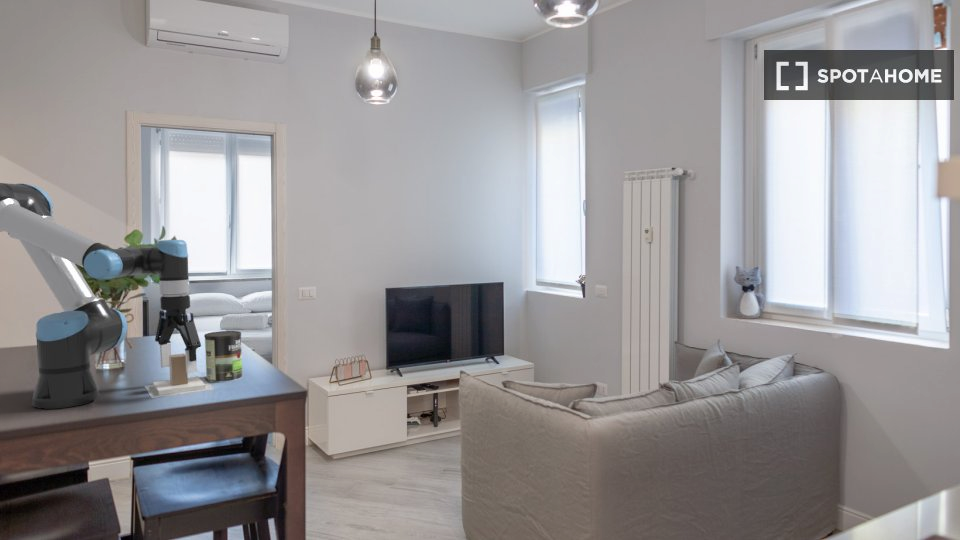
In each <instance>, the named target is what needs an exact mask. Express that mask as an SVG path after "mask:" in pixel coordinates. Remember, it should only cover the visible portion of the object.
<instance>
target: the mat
mask: <svg viewBox="0 0 960 540" xmlns="http://www.w3.org/2000/svg"><path fill="white" fill-rule="evenodd" d="M200 379H201V380H202V381H203V382H204V383H205V384H206V389H201V390H194V391H187V392H180V393H172V394H165V395H158V393H157V392H156V390H155V389H154V387H153V384H150V385H144V388H145V390H146V391H147V393H148V395H149V397H150V398H151V399H154V398H155V399H156V398H163V397H171V396H178V395H185V394H192V393H199V392H206V391H213V390H214V391H215V390H216V389H215V387H214V386H212V385H211V383H210V382H209V381H207V379H205V378H203V377H202V378H200Z"/></svg>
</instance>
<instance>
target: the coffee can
mask: <svg viewBox="0 0 960 540" xmlns="http://www.w3.org/2000/svg"><path fill="white" fill-rule="evenodd" d="M203 336H204V342H205V343H204V346H205V351H204V352H205V367H206V369H205V370H206V373H205V374H206V381H207V382H209V383H210V382H212V383H223V382H232V381H237V380H240V379H242V378H243V362H242V361H243V357H242V355H243V354H242V332H241V331H238V330H219V331H213V332H208V333H205V334H204V335H203Z"/></svg>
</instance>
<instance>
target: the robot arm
mask: <svg viewBox="0 0 960 540" xmlns="http://www.w3.org/2000/svg"><path fill="white" fill-rule="evenodd" d="M53 205H54V204H53V202H52V199H51V197H50V196H49V194H47V192H46V191H45V190H43V189H42V188H40V187H38V186H35V185H31V184H27V183H5V182H0V233H1V232H2V233H3V232H6V233H7V234H8V235H9V238H12V239H14V240H15V239H16V240H19V242H20V243H21V245H22V246H23V249H25V251H26V252H27V254H28V256H29V257H30V259H31V261H32V262H33V263H34V266H35V267H36V269H37V270H38V272H39V274H40V275H41V277H42V278H43V280H44V281H45V284H47V286H48V287H49V289H50V291H51V292H52V294H53V295H54V297H55V298H56V300H57V302H58V303H59V305H60V307H61V308H62V310H63V311H60V312H55V313H51V314H48V315H44V316H42V317H41V318H40V319H38V320H37V322H36V331H35V338H36V349H37V351H36V352H37V364H38V378H37V381H36V384H35V388H34V391H33V394H32V398H31V399H32V407H33V406H34V408H35V407H37V408H36V409H41V408H44V409H45V410H47V409H48V410H50V409H51V410H52V409H55V410H56V409H64V408H71V407H76V406H82V405H85V404H90V403H93V402H94V401H95V400H96V399H99V397H100V387H99V386H98V384H97V381H96V379H95V377H94V375H93V372H92V371H91V356H92V355H95V354H98V353H102V352H109V351H110V350H111V349H114V348H116V347H118V346H120V345H121V344H122V343H123V342H124V340H125V339H126V337H127V333H128V321H127V319H126V317H125V315H124V314H123V313H122V312H121V311H119V310H117V309H114V308H111V307H110V306H109V304H108V303H107V302H106V300H105V299H104V298H102V297H98V296H97V295H95V294H94V292H93V291H92V289H91V287H90V286H89V284H88V282H87V281H86V280H85V278H84V276H83V274H82V273H81V271H80V269H79V268H78V266H80V267H82V268H84V271H85V272H86V273H87V274H88V276H89V277H91V278H92V279H96V280H110V279H116V278H121V277H123V278H124V277H129V276H130V277H131V276H138V275H158V278H159V279H158V280H159V283H158V285H159V295H161V296H160V299H159V302H160V309H161V310H160V311H159V313H158V315H159V317H158V323H157V327H156V328H157V329H156V334H155V337H154V341H155V342H157V343H158V345H159V349H160V350H159V352H160V367H161V368H163V369H164V368H170V366H169V355H172V348H171V347H172V345H171V343H172V342H171V338H172V335H173V333H174V330H176V331H178V332H179V334H180V337H181V339H182V340H183V343H184V345H185V349H184V354H185V357H186V373H187V375H188V374H193V373H197V372H198V367H197V364H198V363H197V361H198V360H197V349H198V348H200V347H202V344H201V340H200V337H199V333H198V331H197V327H196V324H195V321H194V314H193V312H189V313H187V309H190V307H191V299H190V298H191V297H190V294H189V293H190V281H189V279H190V278H189V254H188V246H187V242H186V241H185V240H183V239H166V240H165V239H164V240H163V239H162V240H158V241H157V246H155V247H134V246H131V247H128V246H127V247H121V248H112V247H109V245H108V246H107V245H105V244H103V243H101V242H99V241H96V240H94V239H92V238H91V237H88V236H86V235H84V234H82V233H79V232H77V231H75V230H73V229H71V228H69V227H66V226H64V225H62V224H60V223H59V222H56V221H54V217H53V212H54V211H53V207H54V206H53ZM44 409H43V410H44Z"/></svg>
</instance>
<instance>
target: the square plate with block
mask: <svg viewBox="0 0 960 540" xmlns="http://www.w3.org/2000/svg"><path fill="white" fill-rule="evenodd" d="M201 379H202V378H200V377H199V376H191V377H188V374H187V373H186V357H185V353H176V354H171V355H169V379H168V380H161V381H153V382H152V385H153V387H154V389H155V390H156V392H157V393H158V395H165V394H172V393H180V392H187V391H194V390H201V389H206V384H205V383H204V382H203V381H202V380H201Z"/></svg>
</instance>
